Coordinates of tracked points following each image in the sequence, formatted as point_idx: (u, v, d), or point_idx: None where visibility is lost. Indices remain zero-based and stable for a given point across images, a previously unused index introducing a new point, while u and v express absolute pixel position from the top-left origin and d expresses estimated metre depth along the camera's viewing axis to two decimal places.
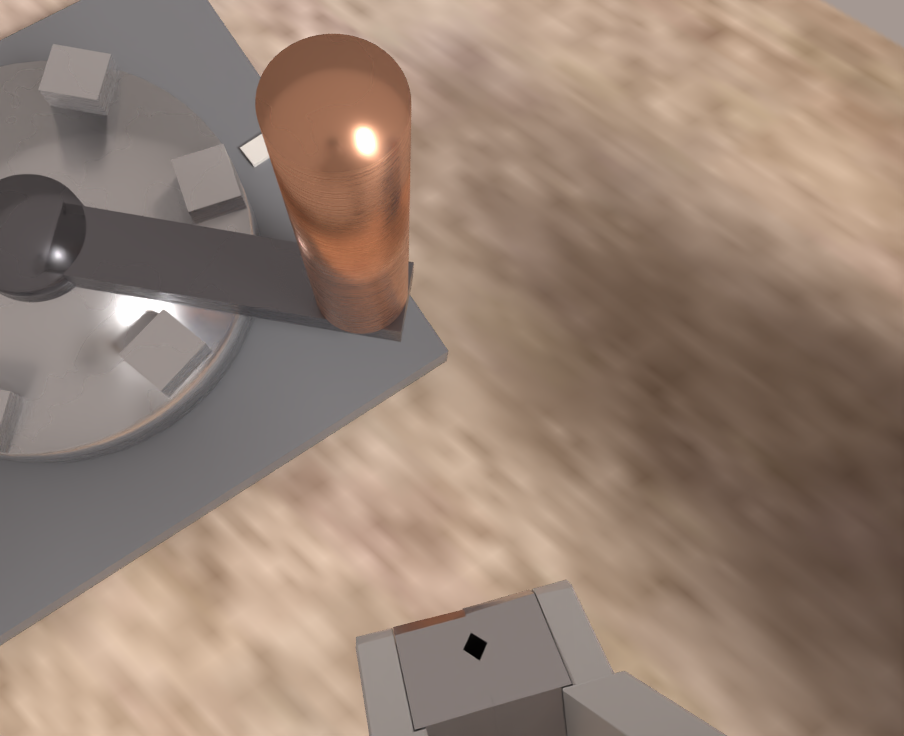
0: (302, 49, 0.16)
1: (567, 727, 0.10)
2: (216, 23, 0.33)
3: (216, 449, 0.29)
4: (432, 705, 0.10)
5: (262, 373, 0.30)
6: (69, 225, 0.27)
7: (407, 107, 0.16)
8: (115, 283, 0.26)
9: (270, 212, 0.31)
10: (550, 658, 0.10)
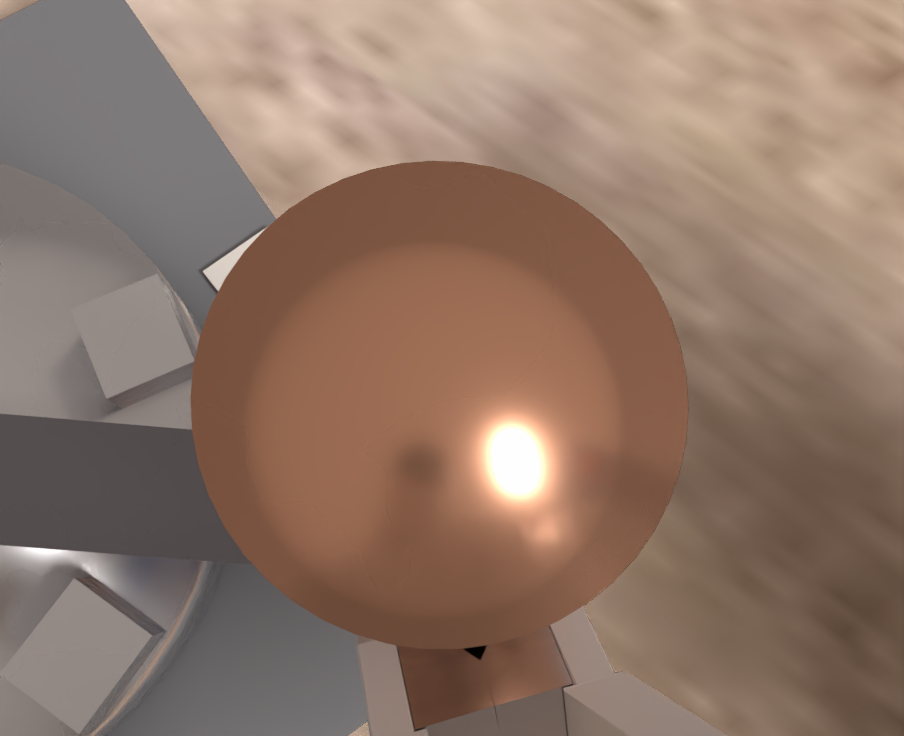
0: (327, 221, 0.05)
1: (567, 726, 0.10)
2: (165, 75, 0.22)
3: None
4: (433, 704, 0.10)
5: (241, 645, 0.19)
6: None
7: (674, 383, 0.05)
8: None
9: None
10: (551, 658, 0.10)
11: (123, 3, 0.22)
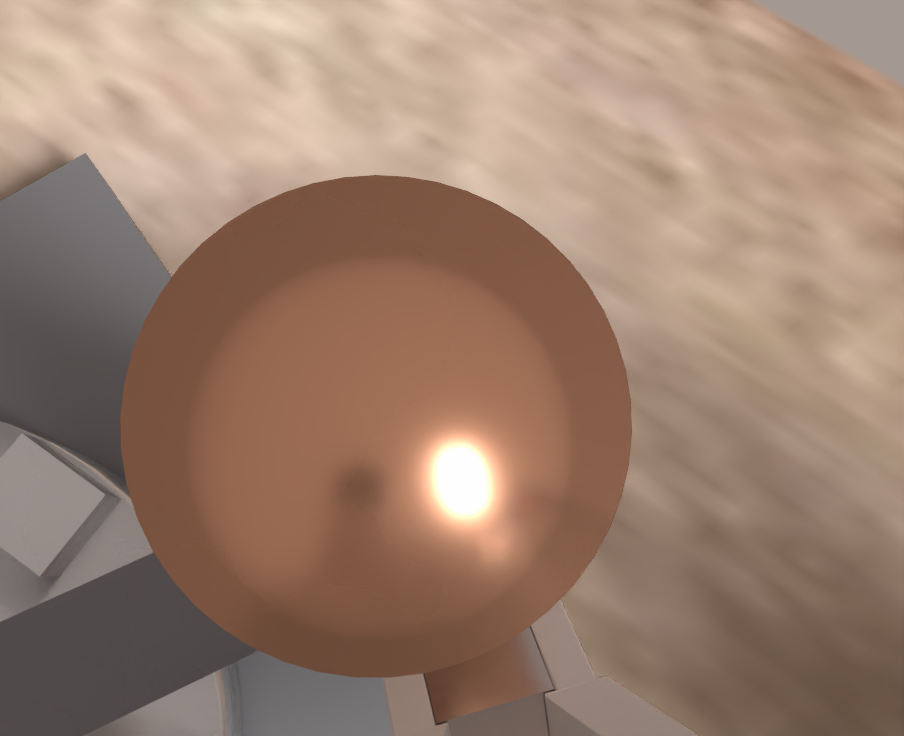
0: (188, 313, 0.05)
1: (549, 732, 0.10)
2: (154, 272, 0.20)
3: None
4: (454, 699, 0.10)
5: None
6: None
7: (580, 294, 0.05)
8: None
9: None
10: (533, 663, 0.10)
11: (108, 192, 0.21)
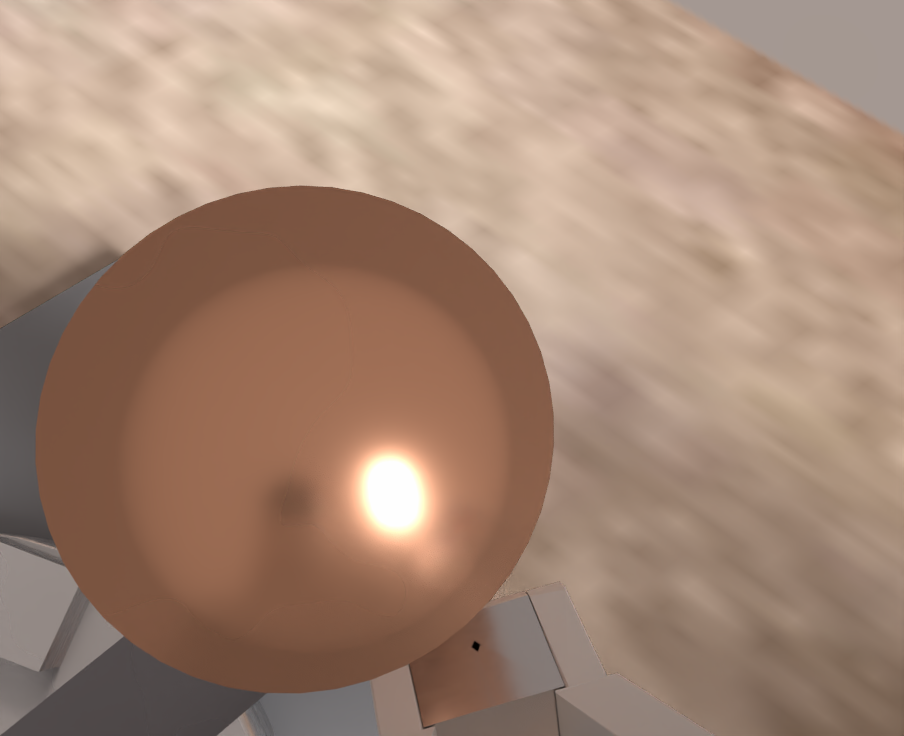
0: (82, 377, 0.05)
1: (560, 729, 0.10)
2: None
3: None
4: (441, 702, 0.10)
5: None
6: None
7: (467, 260, 0.05)
8: None
9: (305, 731, 0.18)
10: (543, 660, 0.10)
11: None
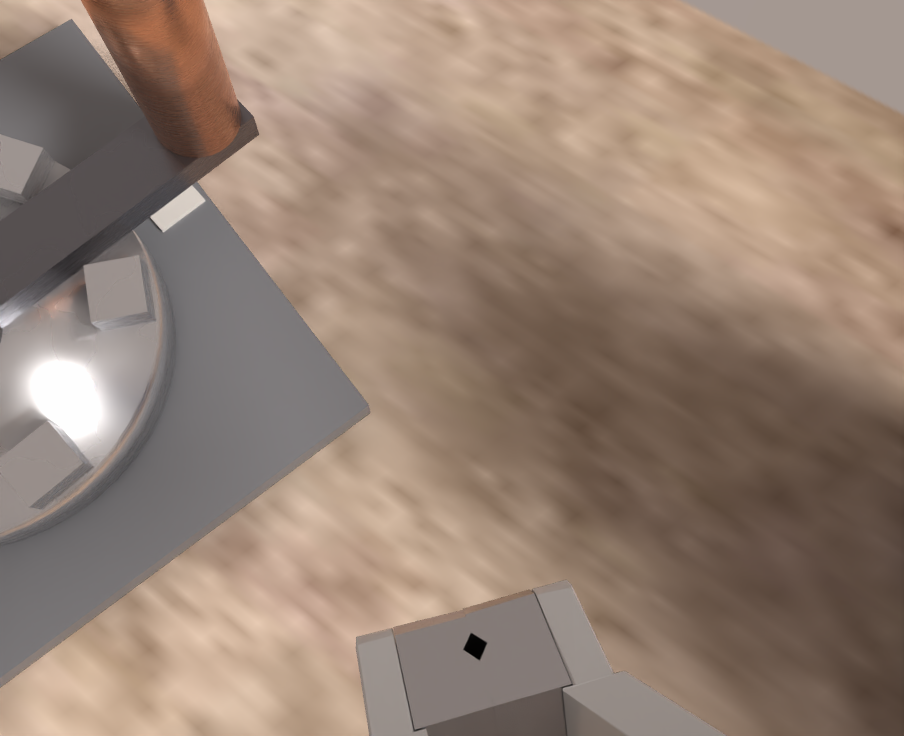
0: None
1: (566, 726, 0.10)
2: (117, 87, 0.33)
3: (139, 523, 0.29)
4: (432, 705, 0.10)
5: (182, 442, 0.30)
6: None
7: None
8: (30, 283, 0.27)
9: (181, 277, 0.31)
10: (550, 658, 0.10)
11: (86, 41, 0.33)
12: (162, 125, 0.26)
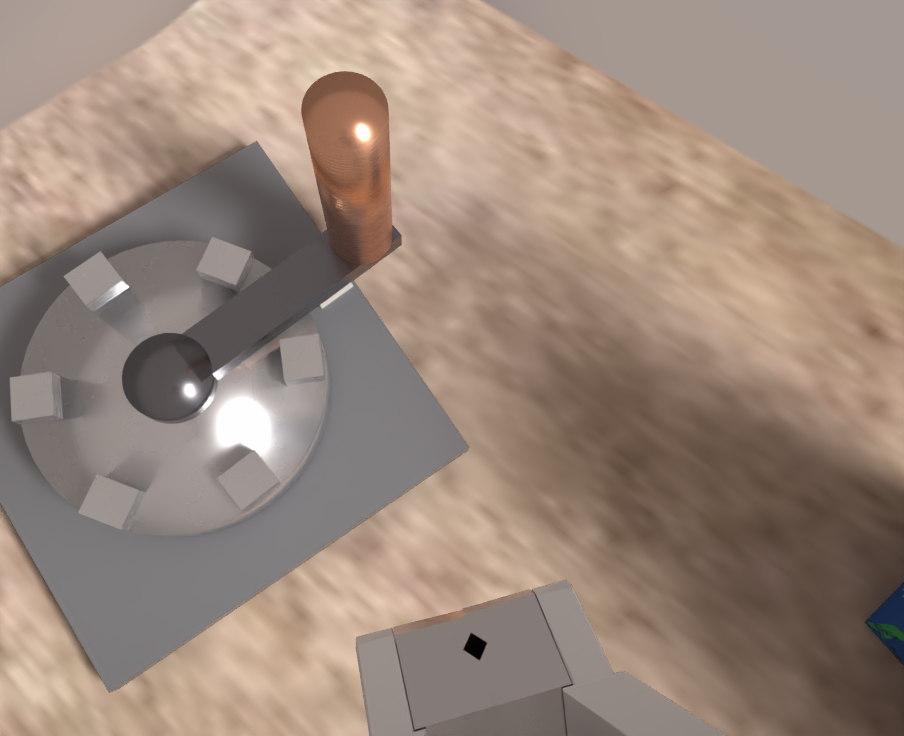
0: (308, 101, 0.29)
1: (567, 726, 0.10)
2: (289, 196, 0.44)
3: (301, 524, 0.40)
4: (432, 704, 0.10)
5: (333, 466, 0.41)
6: (187, 348, 0.38)
7: (374, 84, 0.29)
8: (243, 351, 0.38)
9: (335, 343, 0.42)
10: (550, 658, 0.10)
11: (267, 159, 0.44)
12: (344, 246, 0.37)
